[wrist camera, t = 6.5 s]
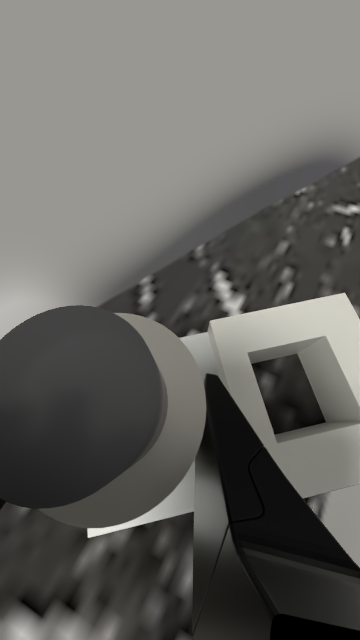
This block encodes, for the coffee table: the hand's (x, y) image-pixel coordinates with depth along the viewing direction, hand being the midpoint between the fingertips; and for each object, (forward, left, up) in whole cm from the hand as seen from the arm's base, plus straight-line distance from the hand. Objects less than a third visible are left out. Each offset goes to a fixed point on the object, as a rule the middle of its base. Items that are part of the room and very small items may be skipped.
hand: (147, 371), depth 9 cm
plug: (-1, +1, -7) cm, 7 cm away
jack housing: (-1, -4, -13) cm, 14 cm away
